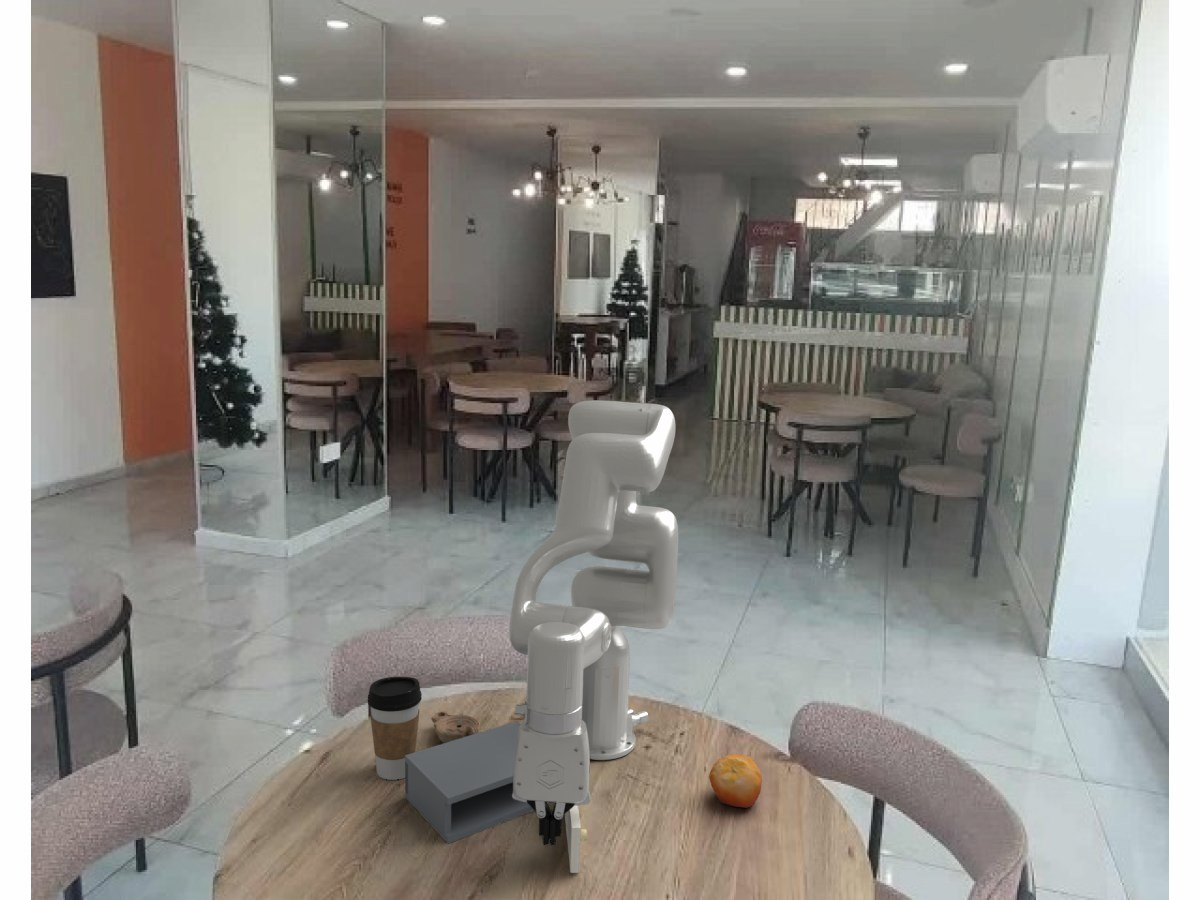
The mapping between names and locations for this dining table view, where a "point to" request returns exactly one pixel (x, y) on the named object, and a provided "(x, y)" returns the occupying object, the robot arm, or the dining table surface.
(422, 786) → the cabinet
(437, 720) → the oil lamp
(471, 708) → the dining table surface
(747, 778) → the fruit
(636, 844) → the dining table surface
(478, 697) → the dining table surface
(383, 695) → the coffee cup
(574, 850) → the door
